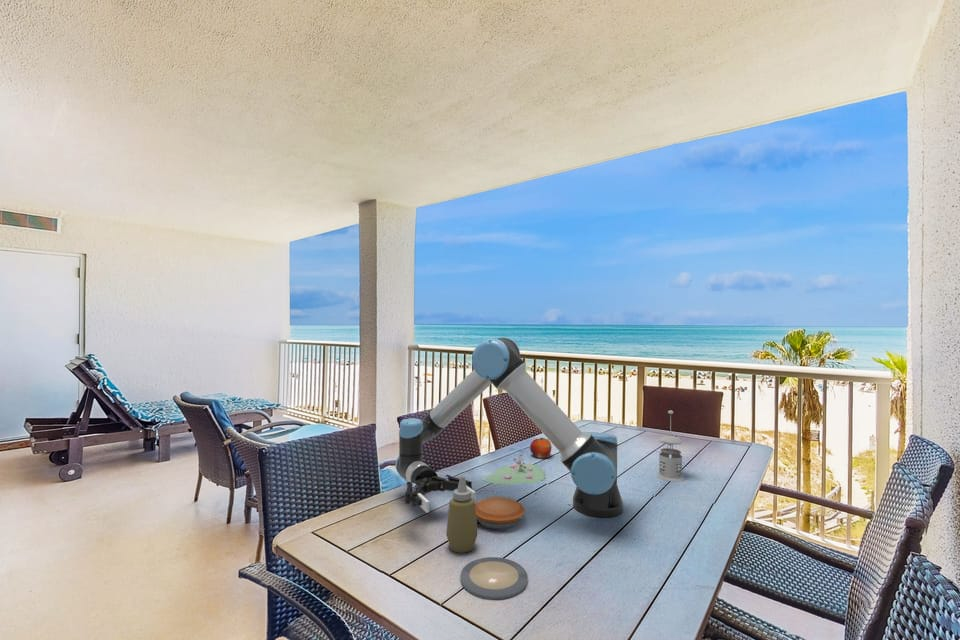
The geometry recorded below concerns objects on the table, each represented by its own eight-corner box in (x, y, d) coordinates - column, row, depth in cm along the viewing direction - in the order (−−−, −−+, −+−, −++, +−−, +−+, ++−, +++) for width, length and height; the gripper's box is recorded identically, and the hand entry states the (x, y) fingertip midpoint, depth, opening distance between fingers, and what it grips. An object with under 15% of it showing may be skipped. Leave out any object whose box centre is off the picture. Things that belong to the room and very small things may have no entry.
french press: (656, 479, 163) (656, 411, 163) (656, 469, 173) (656, 406, 173) (685, 483, 159) (685, 413, 159) (683, 473, 170) (684, 408, 170)
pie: (480, 536, 118) (480, 518, 118) (466, 512, 133) (466, 496, 133) (533, 530, 122) (533, 512, 122) (514, 507, 137) (514, 491, 137)
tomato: (553, 460, 185) (553, 440, 185) (531, 459, 185) (531, 440, 185) (549, 453, 194) (549, 435, 194) (529, 453, 194) (529, 435, 194)
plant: (513, 493, 149) (513, 467, 150) (471, 478, 164) (471, 453, 164) (556, 476, 167) (557, 452, 167) (515, 463, 182) (515, 441, 182)
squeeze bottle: (473, 557, 108) (474, 483, 108) (442, 553, 109) (442, 481, 109) (480, 541, 116) (480, 472, 116) (450, 538, 117) (451, 470, 117)
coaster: (534, 567, 103) (534, 564, 103) (517, 606, 89) (517, 601, 89) (474, 555, 108) (474, 552, 108) (449, 590, 94) (449, 586, 94)
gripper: (458, 482, 141) (492, 506, 123) (381, 497, 129) (406, 526, 110) (458, 459, 141) (492, 479, 123) (382, 471, 129) (407, 496, 111)
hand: (451, 502), depth 117 cm, fingers open, 13 cm apart
